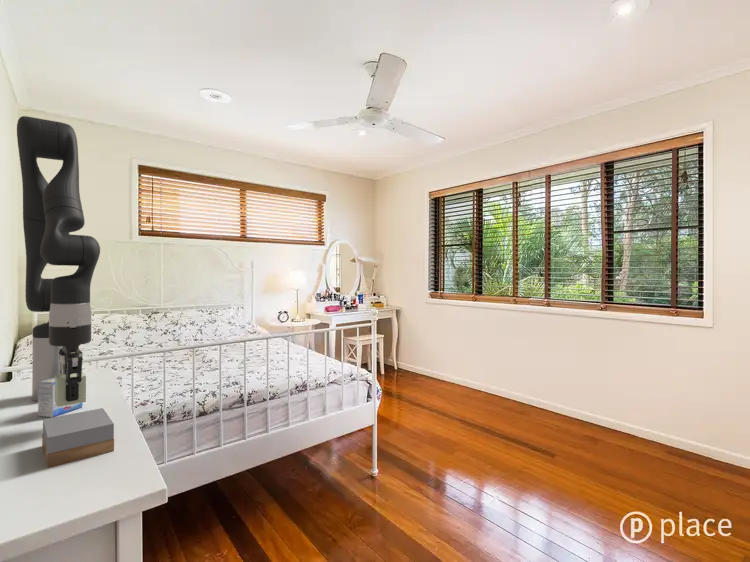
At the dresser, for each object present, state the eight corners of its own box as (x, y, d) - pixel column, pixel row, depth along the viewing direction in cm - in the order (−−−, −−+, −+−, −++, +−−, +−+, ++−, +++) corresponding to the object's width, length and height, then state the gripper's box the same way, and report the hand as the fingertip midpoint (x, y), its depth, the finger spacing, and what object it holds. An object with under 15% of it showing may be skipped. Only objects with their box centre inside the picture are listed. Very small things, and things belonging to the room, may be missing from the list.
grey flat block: (42, 433, 78) (42, 419, 78) (102, 421, 85) (102, 408, 85) (47, 454, 69) (47, 437, 69) (113, 438, 76) (113, 423, 76)
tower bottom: (42, 449, 78) (42, 434, 78) (101, 435, 85) (102, 421, 85) (48, 471, 69) (48, 454, 69) (114, 453, 76) (114, 438, 76)
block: (54, 401, 87) (54, 374, 87) (82, 396, 91) (82, 371, 91) (57, 406, 84) (57, 379, 84) (85, 401, 87) (86, 375, 87)
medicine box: (52, 418, 93) (52, 382, 93) (37, 416, 94) (37, 381, 94) (83, 407, 100) (83, 374, 100) (69, 406, 101) (69, 373, 101)
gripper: (45, 320, 89) (45, 393, 90) (52, 328, 79) (52, 410, 80) (85, 318, 95) (85, 386, 95) (97, 325, 85) (96, 401, 85)
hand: (70, 397), depth 87 cm, fingers closed on block, 5 cm apart
